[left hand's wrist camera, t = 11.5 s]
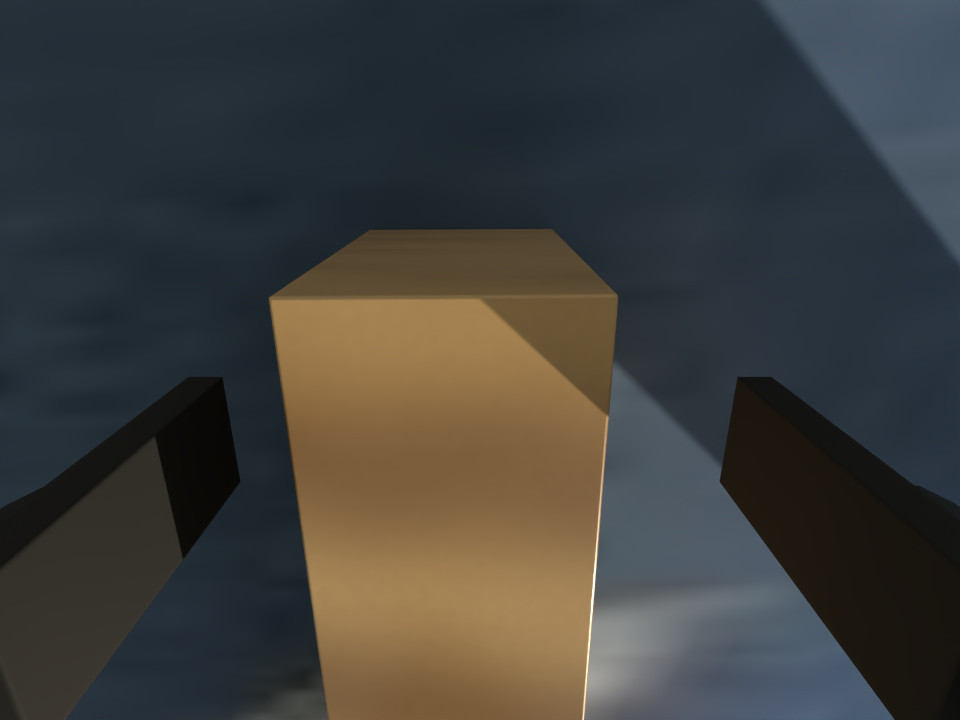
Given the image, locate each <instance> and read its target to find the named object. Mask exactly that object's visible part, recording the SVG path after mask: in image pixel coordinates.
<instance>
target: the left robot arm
mask: <svg viewBox="0 0 960 720" xmlns="http://www.w3.org/2000/svg"><path fill="white" fill-rule="evenodd" d="M239 483H240V477H239V471H238V465H237V460H236V454H235V448H234V442H233V436H232V431H231V425H230V419H229V413H228V407H227V402H226V396H225V390H224V384H223V379H222V377H188V378H187V379H185V380H184V381H183V382H181V383H180V384H179V385H177V386H176V387H175V388H173V389H172V390H171V391H170V392H168V393H167V394H166V395H164V396H163V397H162V398H160V399H159V400H158V401H156V402H155V403H154V404H152V405H151V406H150V407H148V408H147V409H146V410H145V411H143V412H142V413H141V414H139V415H138V416H137V417H135V418H134V419H133V420H131V421H130V422H129V423H127V424H126V425H125V426H123V427H122V428H121V429H120V430H118V431H117V432H116V433H114V434H113V435H112V436H110V437H109V438H108V439H106V440H105V441H104V442H102V443H101V444H100V445H98V446H97V447H96V448H95V449H93V450H92V451H91V452H89V453H88V454H87V455H85V456H84V457H83V458H81V459H80V460H79V461H77V462H76V463H75V464H73V465H72V466H71V467H69V468H68V469H67V470H66V471H64V472H63V473H62V474H60V475H59V476H58V477H56V478H55V479H54V480H52V481H51V482H50V483H48V484H47V485H46V486H44V487H43V488H40V489H38V490H36V491H34V492H32V493H30V494H28V495H26V496H24V497H22V498H20V499H18V500H16V501H14V502H12V503H10V504H8V505H6V506H5V507H3V508H2V509H1V510H0V720H65V719H66V718H67V717H68V715H69V714H70V713H71V711H72V710H73V708H74V707H75V706H76V704H77V703H78V702H79V700H80V699H81V698H82V696H83V695H84V694H85V692H86V691H87V689H88V688H89V687H90V685H91V684H92V683H93V681H94V680H95V679H96V677H97V676H98V674H99V673H100V672H101V670H102V669H103V668H104V666H105V665H106V664H107V662H108V661H109V660H110V658H111V657H112V655H113V654H114V653H115V651H116V650H117V649H118V647H119V646H120V645H121V643H122V642H123V640H124V639H125V638H126V636H127V635H128V634H129V632H130V631H131V630H132V628H133V627H134V625H135V624H136V623H137V621H138V620H139V619H140V617H141V616H142V615H143V613H144V612H145V611H146V609H147V608H148V606H149V605H150V604H151V602H152V601H153V600H154V598H155V597H156V596H157V594H158V593H159V591H160V590H161V589H162V587H163V586H164V585H165V583H166V582H167V581H168V579H169V578H170V577H171V575H172V574H173V572H174V571H175V570H176V568H177V567H178V566H179V564H180V563H181V562H182V560H183V559H184V557H185V556H186V555H187V553H188V552H189V551H190V549H191V548H192V547H193V545H194V544H195V543H196V541H197V540H198V538H199V537H200V536H201V534H202V533H203V532H204V530H205V529H206V528H207V526H208V525H209V523H210V522H211V521H212V519H213V518H214V517H215V515H216V514H217V513H218V511H219V510H220V509H221V507H222V506H223V504H224V503H225V502H226V500H227V499H228V498H229V496H230V495H231V494H232V492H233V491H234V489H235V488H236V487H237V485H238V484H239ZM720 483H721V484H722V485H723V487H724V488H725V489H726V491H727V492H728V494H729V495H730V496H731V498H732V499H733V500H734V502H735V503H736V504H737V506H738V507H739V509H740V510H741V511H742V513H743V514H744V515H745V517H746V518H747V519H748V521H749V522H750V523H751V525H752V526H753V528H754V529H755V530H756V532H757V533H758V534H759V536H760V537H761V538H762V540H763V541H764V543H765V544H766V545H767V547H768V548H769V549H770V551H771V552H772V553H773V555H774V556H775V558H776V559H777V560H778V562H779V563H780V564H781V566H782V567H783V568H784V570H785V571H786V572H787V574H788V575H789V577H790V578H791V579H792V581H793V582H794V583H795V585H796V586H797V587H798V589H799V590H800V592H801V593H802V594H803V596H804V597H805V598H806V600H807V601H808V602H809V604H810V605H811V606H812V608H813V609H814V611H815V612H816V613H817V615H818V616H819V617H820V619H821V620H822V621H823V623H824V624H825V626H826V627H827V628H828V630H829V631H830V632H831V634H832V635H833V636H834V638H835V639H836V640H837V642H838V643H839V645H840V646H841V647H842V649H843V650H844V651H845V653H846V654H847V655H848V657H849V658H850V660H851V661H852V662H853V664H854V665H855V666H856V668H857V669H858V670H859V672H860V673H861V674H862V676H863V677H864V679H865V680H866V681H867V683H868V684H869V685H870V687H871V688H872V689H873V691H874V692H875V694H876V695H877V696H878V698H879V699H880V700H881V702H882V703H883V704H884V706H885V707H886V708H887V710H888V711H889V713H890V714H891V715H892V717H893V718H894V719H895V720H960V507H959V506H958V505H956V504H955V503H953V502H951V501H949V500H947V499H945V498H943V497H941V496H939V495H937V494H935V493H933V492H930V491H928V490H926V489H924V488H922V487H920V486H914V485H913V484H912V483H910V482H909V481H908V480H906V479H905V478H904V477H902V476H901V475H900V474H898V473H897V472H896V471H894V470H893V469H892V468H890V467H889V466H888V465H887V464H885V463H884V462H883V461H881V460H880V459H879V458H877V457H876V456H875V455H873V454H872V453H871V452H869V451H868V450H867V449H865V448H864V447H863V446H862V445H860V444H859V443H858V442H856V441H855V440H854V439H852V438H851V437H850V436H848V435H847V434H846V433H844V432H843V431H842V430H840V429H839V428H838V427H837V426H835V425H834V424H833V423H831V422H830V421H829V420H827V419H826V418H825V417H823V416H822V415H821V414H819V413H818V412H817V411H815V410H814V409H813V408H812V407H810V406H809V405H808V404H806V403H805V402H804V401H802V400H801V399H800V398H798V397H797V396H796V395H794V394H793V393H792V392H790V391H789V390H788V389H787V388H785V387H784V386H783V385H781V384H780V383H779V382H777V381H776V380H775V379H773V378H772V377H738V378H737V384H736V390H735V396H734V402H733V407H732V413H731V419H730V425H729V431H728V436H727V442H726V448H725V454H724V459H723V465H722V471H721V477H720Z"/></svg>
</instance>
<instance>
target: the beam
mask: <svg viewBox="0 0 960 720" xmlns="http://www.w3.org/2000/svg"><path fill="white" fill-rule="evenodd" d="M269 305H270V312H271V319H272V326H273V334H274V341H275V348H276V355H277V362H278V369H279V376H280V383H281V390H282V398H283V405H284V412H285V419H286V426H287V433H288V440H289V447H290V454H291V462H292V469H293V476H294V483H295V490H296V497H297V504H298V511H299V518H300V526H301V533H302V540H303V547H304V554H305V561H306V568H307V575H308V582H309V590H310V597H311V604H312V611H313V618H314V625H315V632H316V639H317V646H318V654H319V661H320V668H321V675H322V682H323V689H324V696H325V703H326V710H327V718H328V720H584V713H585V701H586V689H587V677H588V664H589V652H590V640H591V628H592V615H593V603H594V591H595V579H596V566H597V554H598V542H599V529H600V517H601V505H602V493H603V480H604V468H605V456H606V444H607V431H608V419H609V407H610V395H611V382H612V370H613V358H614V346H615V333H616V321H617V309H618V295H617V294H616V293H615V292H614V291H613V290H612V289H611V288H610V287H609V286H608V285H607V284H606V283H605V282H604V281H603V280H602V279H601V278H600V277H599V276H598V275H597V274H596V273H595V272H594V271H593V270H592V269H591V268H590V267H589V266H588V265H587V264H586V263H585V262H584V261H583V260H582V259H581V258H580V257H579V256H578V255H577V254H576V253H575V252H574V251H573V250H572V249H571V248H570V246H569V245H568V244H567V243H566V242H565V241H564V240H563V239H562V238H561V237H560V236H559V235H558V234H557V233H556V232H555V231H554V230H553V229H454V230H369V231H367V232H366V233H364V234H363V235H361V236H360V237H358V238H357V239H355V240H354V241H352V242H351V243H349V244H348V245H346V246H345V247H343V248H342V249H340V250H339V251H337V252H336V253H334V254H333V255H331V256H330V257H329V258H327V259H326V260H324V261H323V262H321V263H320V264H318V265H317V266H315V267H314V268H312V269H311V270H309V271H308V272H306V273H305V274H303V275H302V276H300V277H299V278H297V279H296V280H294V281H293V282H291V283H290V284H288V285H287V286H285V287H284V288H282V289H281V290H279V291H278V292H276V293H275V294H273V295H272V296H270V297H269Z"/></svg>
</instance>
